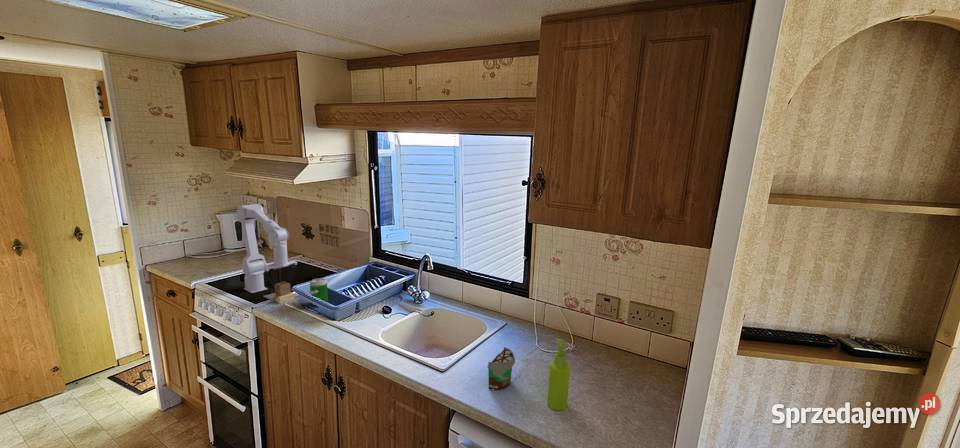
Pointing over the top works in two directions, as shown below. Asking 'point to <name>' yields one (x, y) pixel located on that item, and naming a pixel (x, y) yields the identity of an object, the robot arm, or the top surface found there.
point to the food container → (501, 370)
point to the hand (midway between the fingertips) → (282, 282)
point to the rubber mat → (275, 301)
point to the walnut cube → (282, 288)
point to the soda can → (319, 288)
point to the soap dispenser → (559, 379)
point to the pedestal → (283, 298)
